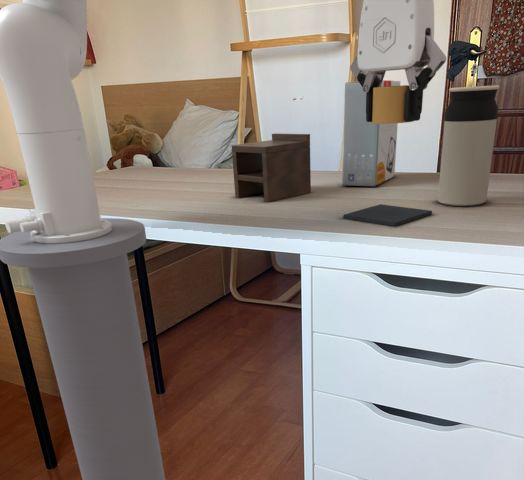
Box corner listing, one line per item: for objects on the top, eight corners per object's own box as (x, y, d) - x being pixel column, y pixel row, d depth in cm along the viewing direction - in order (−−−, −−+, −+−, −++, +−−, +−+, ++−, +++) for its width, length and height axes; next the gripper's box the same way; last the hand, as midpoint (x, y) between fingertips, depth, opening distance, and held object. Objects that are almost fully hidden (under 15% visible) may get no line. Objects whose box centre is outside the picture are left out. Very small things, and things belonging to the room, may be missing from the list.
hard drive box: (376, 187, 109) (380, 80, 101) (341, 186, 113) (342, 82, 104) (395, 176, 121) (401, 79, 113) (363, 175, 125) (366, 81, 116)
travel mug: (480, 208, 86) (495, 85, 79) (431, 205, 90) (441, 88, 83) (490, 199, 92) (505, 84, 85) (444, 197, 96) (454, 87, 89)
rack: (268, 202, 101) (265, 139, 96) (235, 197, 108) (230, 138, 103) (310, 192, 108) (310, 133, 103) (277, 188, 115) (275, 133, 110)
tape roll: (397, 124, 75) (399, 85, 73) (364, 124, 79) (364, 87, 77) (421, 120, 78) (424, 84, 76) (387, 121, 83) (389, 86, 80)
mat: (395, 226, 78) (395, 222, 78) (343, 218, 85) (343, 214, 85) (431, 214, 84) (432, 210, 84) (380, 207, 91) (380, 204, 91)
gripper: (331, -15, 74) (331, 123, 82) (442, -42, 63) (430, 123, 70) (364, -12, 79) (361, 119, 87) (474, -36, 67) (459, 118, 75)
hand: (392, 119), depth 78 cm, fingers closed on tape roll, 6 cm apart
